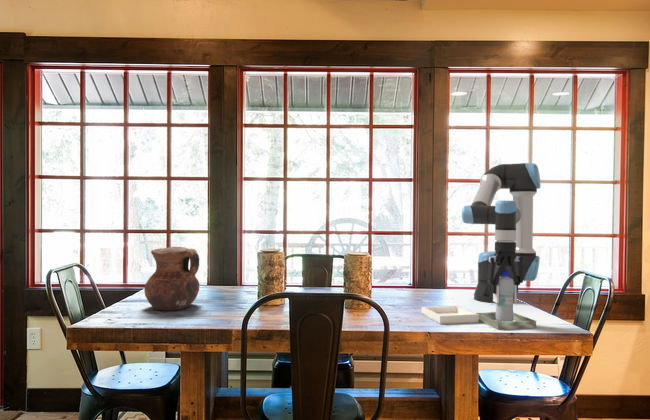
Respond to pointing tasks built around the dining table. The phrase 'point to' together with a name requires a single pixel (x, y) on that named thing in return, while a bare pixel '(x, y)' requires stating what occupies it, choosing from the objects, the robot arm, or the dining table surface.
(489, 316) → the rim
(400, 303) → the dining table surface
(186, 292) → the jug
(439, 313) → the cream dish
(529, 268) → the robot arm
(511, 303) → the bottle
